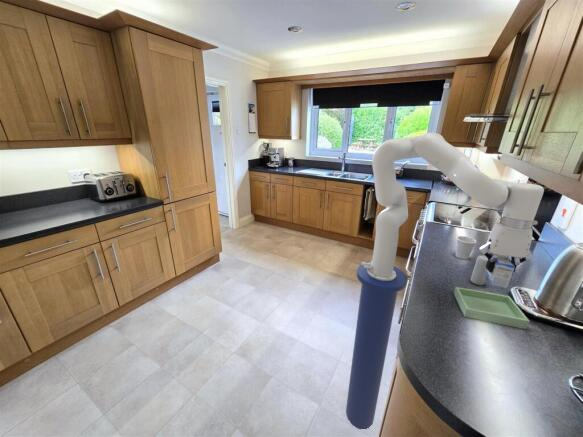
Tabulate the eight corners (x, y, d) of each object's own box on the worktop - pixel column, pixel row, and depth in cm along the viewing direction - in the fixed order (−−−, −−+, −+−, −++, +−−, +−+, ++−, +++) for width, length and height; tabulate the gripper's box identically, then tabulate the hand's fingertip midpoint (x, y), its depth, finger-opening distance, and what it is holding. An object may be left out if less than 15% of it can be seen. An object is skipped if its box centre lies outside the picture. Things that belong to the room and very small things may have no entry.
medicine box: (485, 273, 89) (491, 252, 86) (500, 276, 87) (507, 255, 84) (490, 285, 82) (498, 262, 79) (507, 288, 80) (515, 265, 77)
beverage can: (468, 278, 107) (475, 254, 103) (481, 280, 106) (489, 256, 102) (472, 284, 103) (480, 259, 99) (485, 286, 101) (494, 261, 97)
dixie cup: (453, 258, 125) (458, 240, 121) (451, 251, 132) (455, 234, 128) (472, 262, 121) (478, 244, 118) (469, 254, 128) (474, 237, 125)
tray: (464, 316, 85) (466, 309, 84) (453, 293, 97) (455, 286, 96) (526, 329, 80) (529, 321, 78) (506, 303, 92) (509, 296, 91)
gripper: (541, 221, 78) (523, 270, 84) (479, 216, 83) (466, 262, 89) (557, 230, 71) (536, 282, 77) (488, 223, 76) (473, 273, 82)
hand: (498, 271), depth 83 cm, fingers closed on medicine box, 4 cm apart
